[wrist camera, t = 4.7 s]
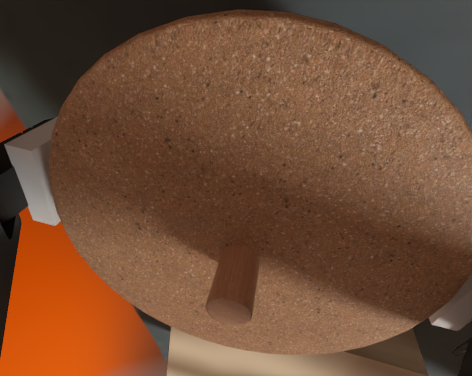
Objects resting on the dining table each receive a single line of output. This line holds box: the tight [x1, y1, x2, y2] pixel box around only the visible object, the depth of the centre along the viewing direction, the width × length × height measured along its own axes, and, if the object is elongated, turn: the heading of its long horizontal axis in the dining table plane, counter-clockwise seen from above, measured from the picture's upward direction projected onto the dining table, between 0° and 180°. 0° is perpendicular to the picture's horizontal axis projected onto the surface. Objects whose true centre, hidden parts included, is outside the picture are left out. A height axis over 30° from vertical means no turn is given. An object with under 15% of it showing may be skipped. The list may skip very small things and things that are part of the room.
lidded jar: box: [48, 9, 472, 355], centre depth 10 cm, size 11×11×9 cm
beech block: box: [167, 327, 428, 376], centre depth 21 cm, size 14×14×5 cm
